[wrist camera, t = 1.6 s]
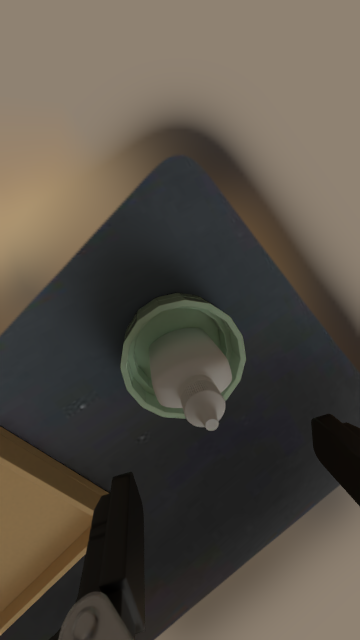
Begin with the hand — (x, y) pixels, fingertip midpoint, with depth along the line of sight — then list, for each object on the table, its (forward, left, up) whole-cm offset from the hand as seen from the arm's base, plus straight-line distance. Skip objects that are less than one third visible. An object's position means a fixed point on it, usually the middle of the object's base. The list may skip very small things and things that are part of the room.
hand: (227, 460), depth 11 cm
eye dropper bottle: (0, 0, -15) cm, 15 cm away
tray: (+16, -24, -15) cm, 32 cm away
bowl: (0, 0, -15) cm, 15 cm away
